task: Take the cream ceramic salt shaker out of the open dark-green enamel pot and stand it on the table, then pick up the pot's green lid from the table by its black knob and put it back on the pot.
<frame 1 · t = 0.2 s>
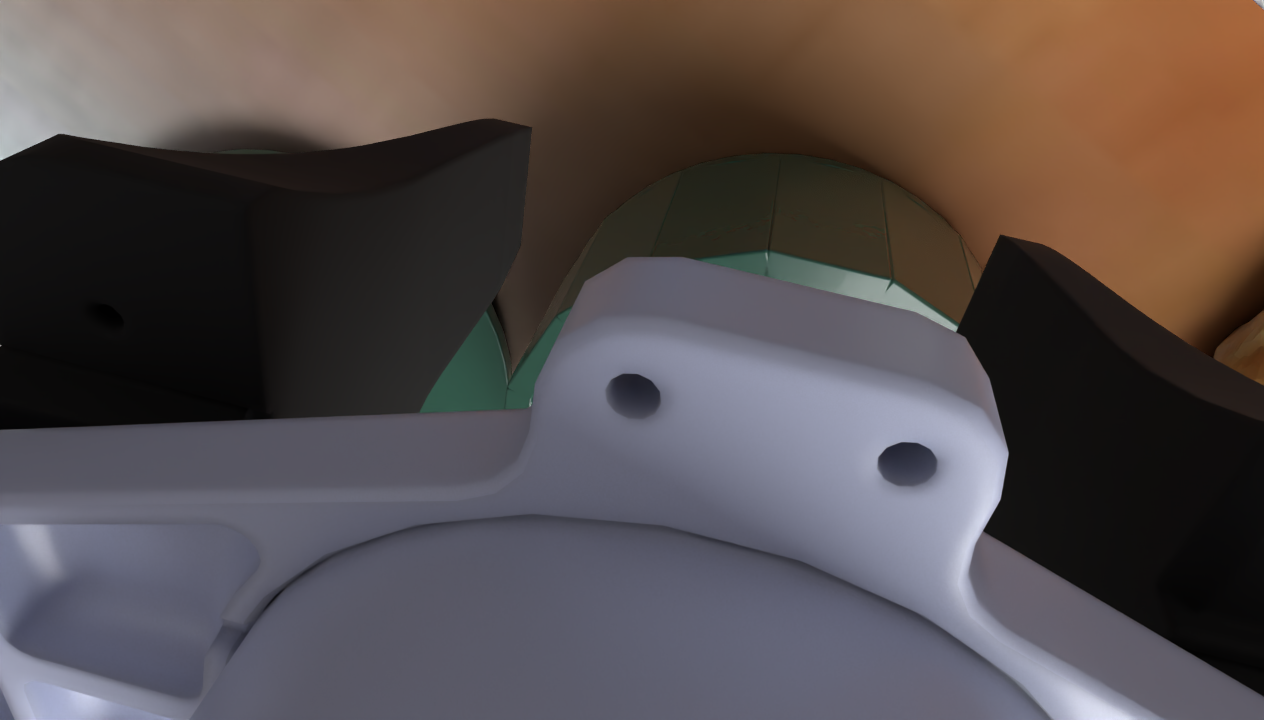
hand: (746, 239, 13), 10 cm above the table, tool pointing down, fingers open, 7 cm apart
lid: (313, 349, 29), point 1 cm above the table
pot: (768, 359, 26), on the table
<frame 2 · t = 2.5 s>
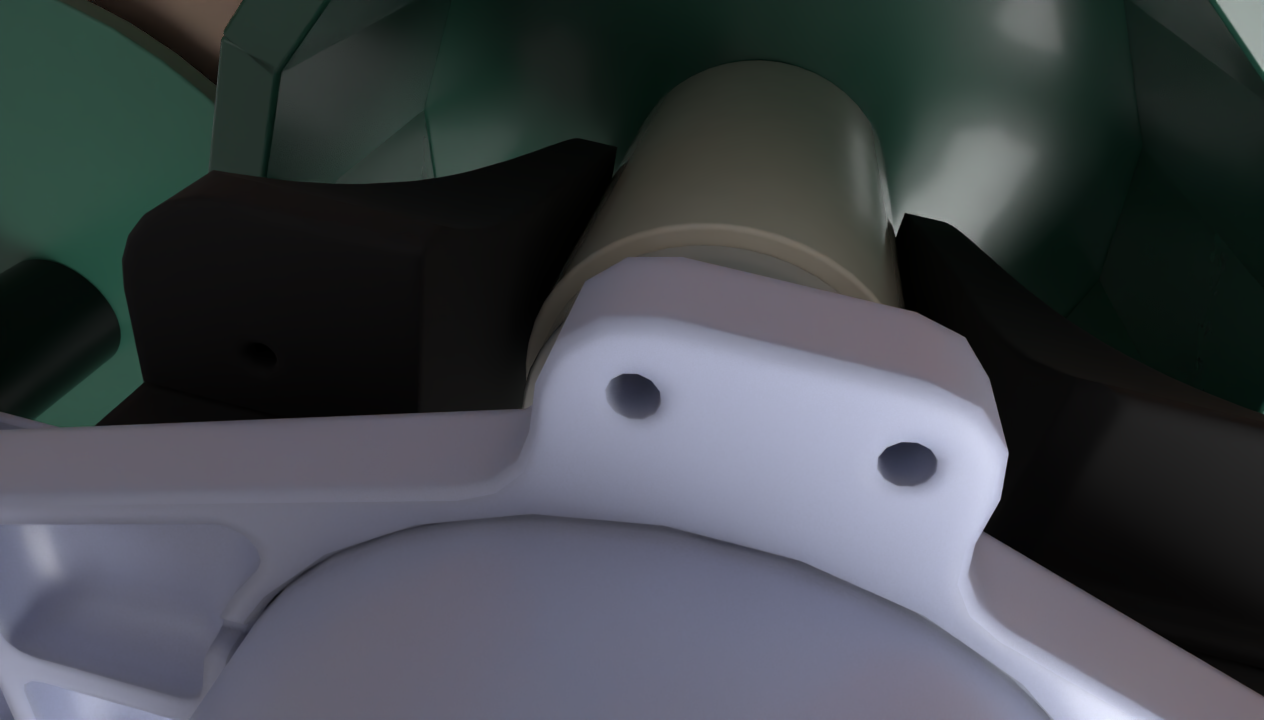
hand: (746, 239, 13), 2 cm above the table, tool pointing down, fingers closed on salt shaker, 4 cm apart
salt shaker: (752, 190, 15), point 1 cm above the table, touching gripper, pot
lid: (81, 300, 19), point 1 cm above the table
pot: (756, 180, 15), on the table
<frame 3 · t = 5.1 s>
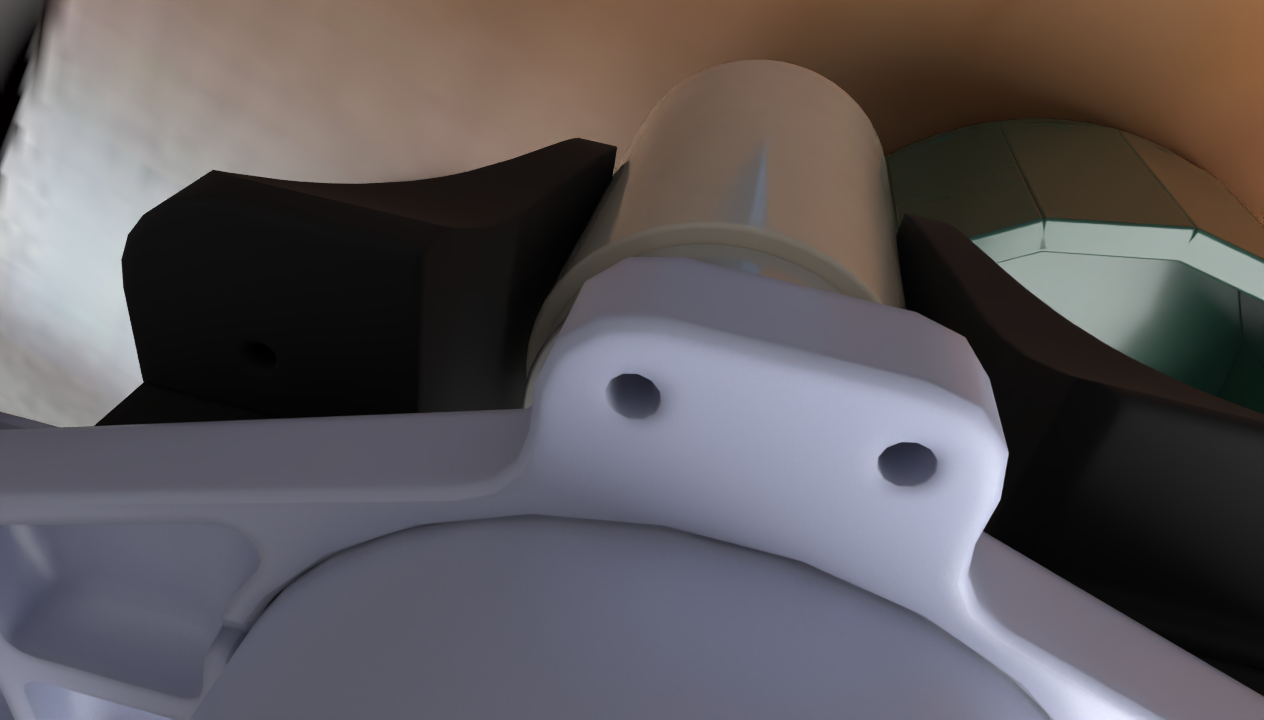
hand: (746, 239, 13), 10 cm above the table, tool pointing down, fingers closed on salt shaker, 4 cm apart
salt shaker: (753, 190, 15), point 8 cm above the table, touching gripper
pot: (992, 347, 24), on the table
when the fingers open (2 cm above the table, at t = 7.5 s): salt shaker stays where it is, on the table.
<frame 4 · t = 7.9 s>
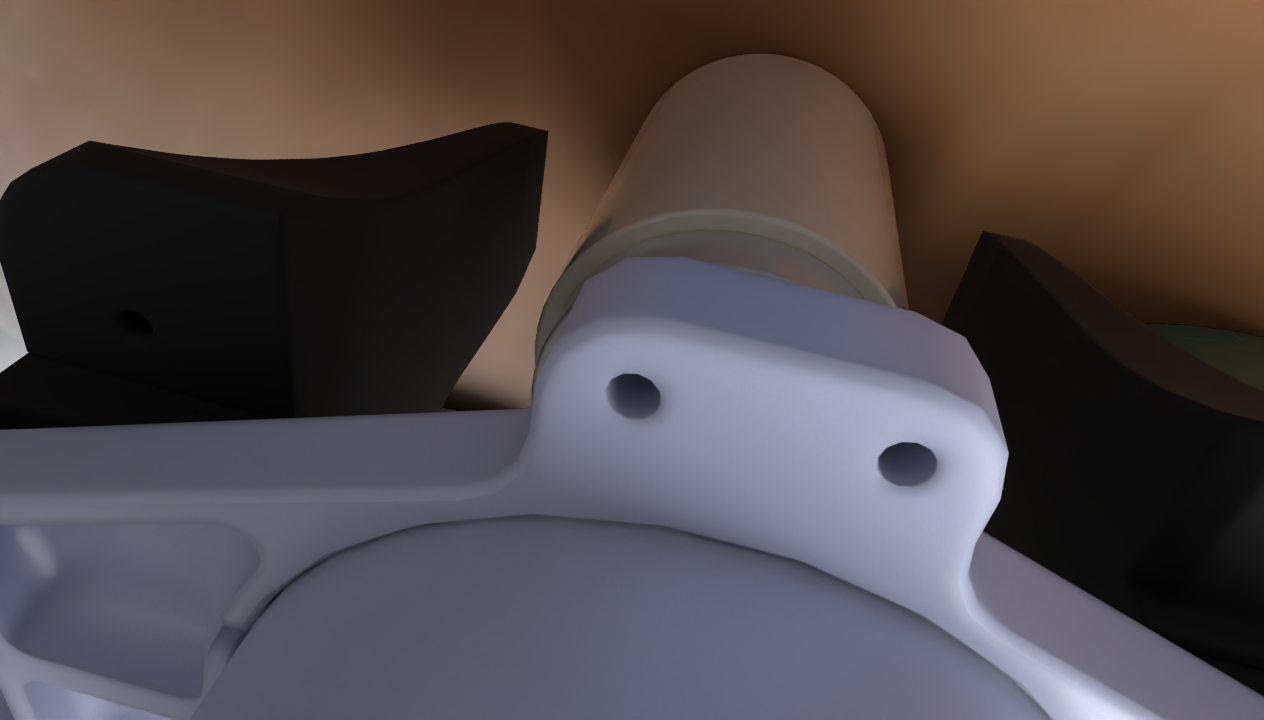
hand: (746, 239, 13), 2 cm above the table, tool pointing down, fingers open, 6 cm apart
salt shaker: (756, 182, 15), on the table
pot: (1082, 583, 19), on the table
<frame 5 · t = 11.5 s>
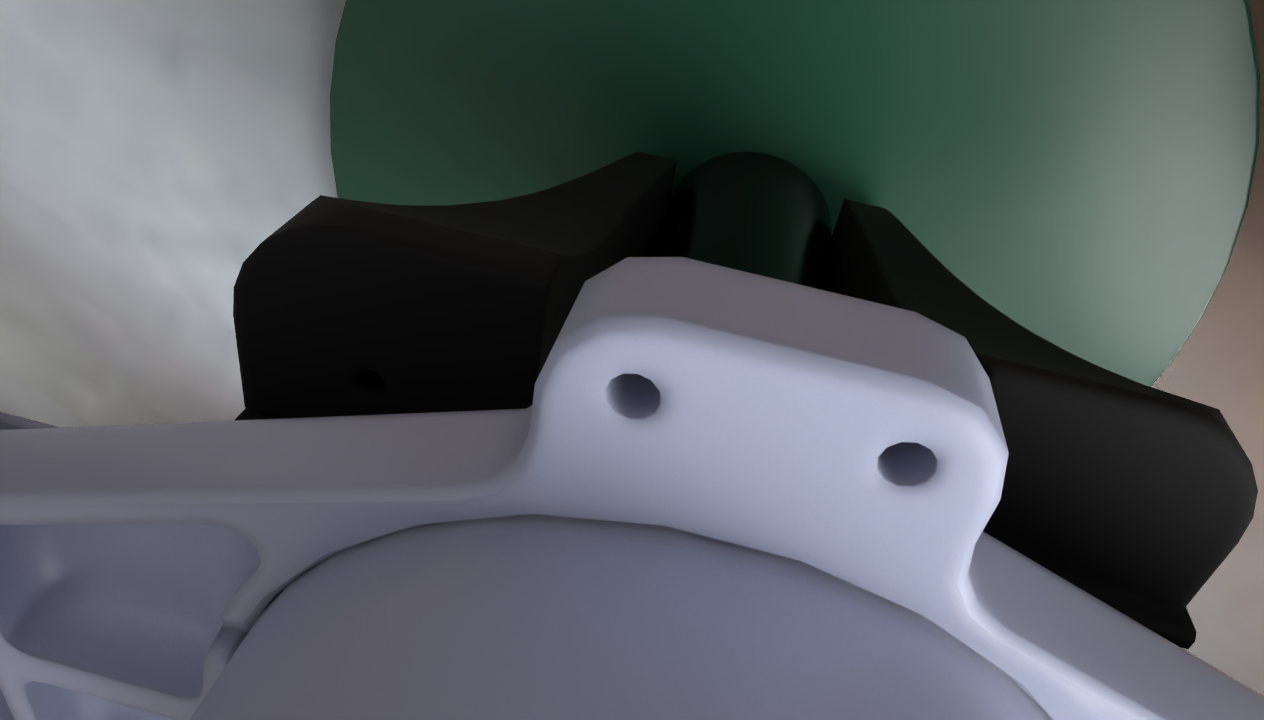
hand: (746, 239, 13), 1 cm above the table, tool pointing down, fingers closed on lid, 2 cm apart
lid: (748, 217, 14), point 1 cm above the table, touching gripper
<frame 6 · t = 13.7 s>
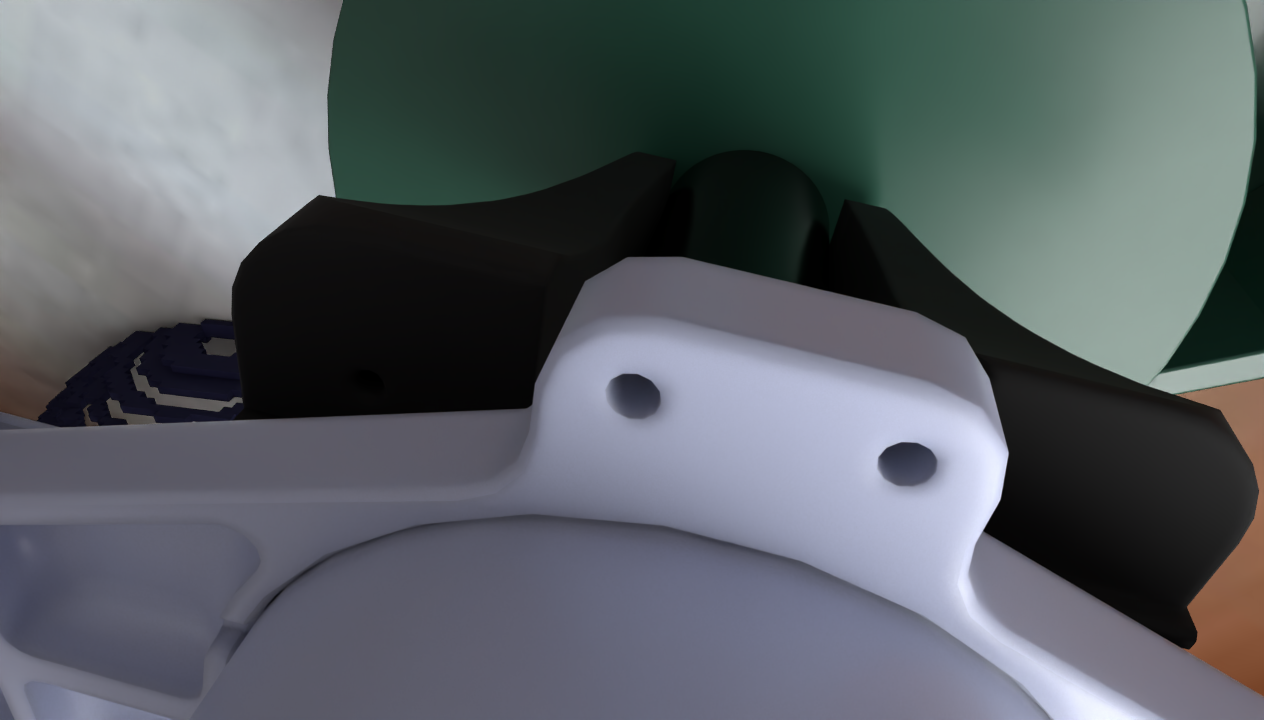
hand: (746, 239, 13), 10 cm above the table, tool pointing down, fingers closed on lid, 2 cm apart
lid: (746, 216, 14), point 9 cm above the table, touching gripper
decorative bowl: (310, 532, 35), on the table
pot: (1102, 1, 19), on the table
when the fingers open (7 cm above the table, at t = 15.7 s): lid stays where it is, resting on pot.
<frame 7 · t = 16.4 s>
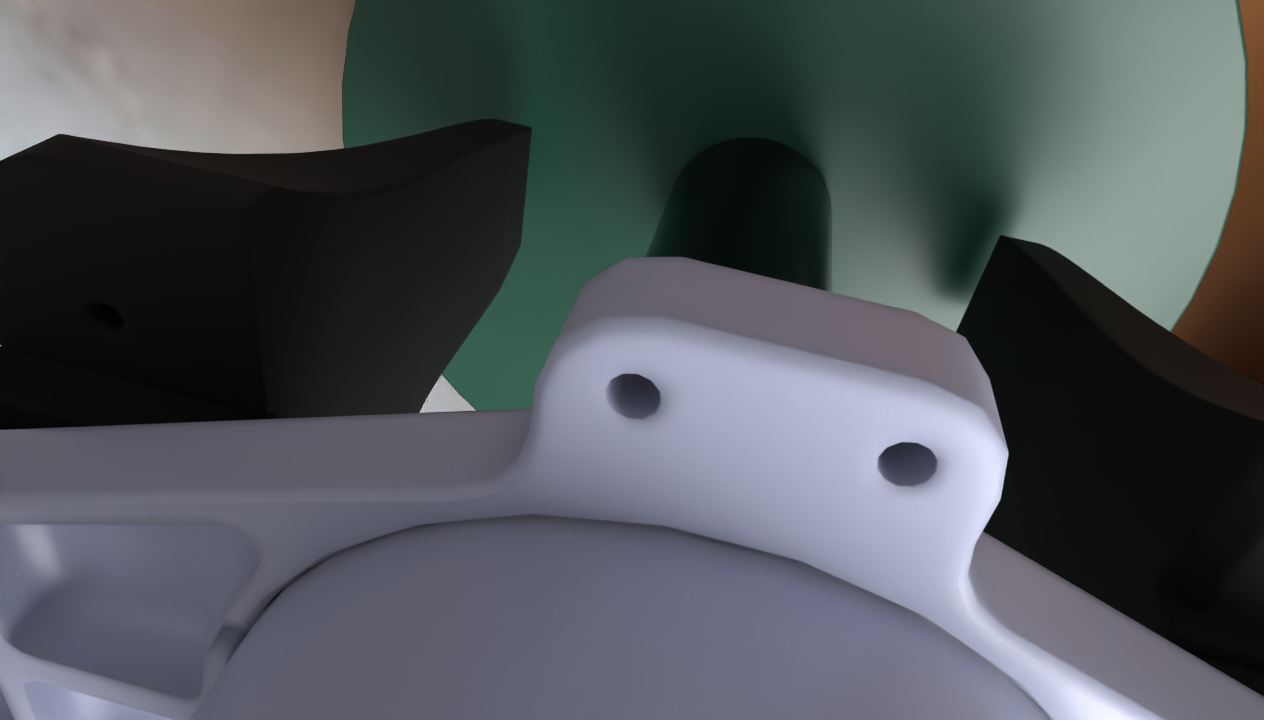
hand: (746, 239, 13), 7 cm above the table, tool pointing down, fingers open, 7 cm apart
lid: (751, 203, 14), point 6 cm above the table, touching pot
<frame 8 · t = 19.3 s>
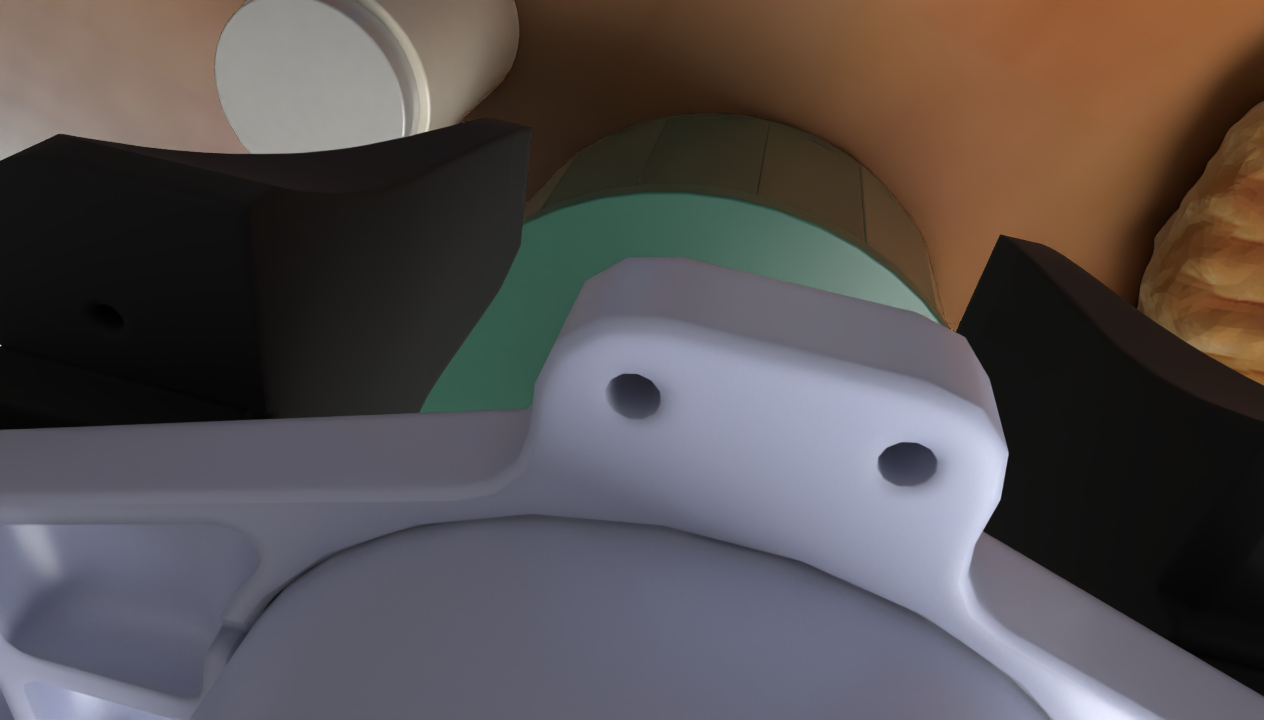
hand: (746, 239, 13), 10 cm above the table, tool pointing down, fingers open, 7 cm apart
salt shaker: (439, 20, 23), on the table
lid: (683, 446, 21), point 6 cm above the table, touching pot
pastry: (1253, 268, 23), on the table
pot: (711, 323, 26), on the table
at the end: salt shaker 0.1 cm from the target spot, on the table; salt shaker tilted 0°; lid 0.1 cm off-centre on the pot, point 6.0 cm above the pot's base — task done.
